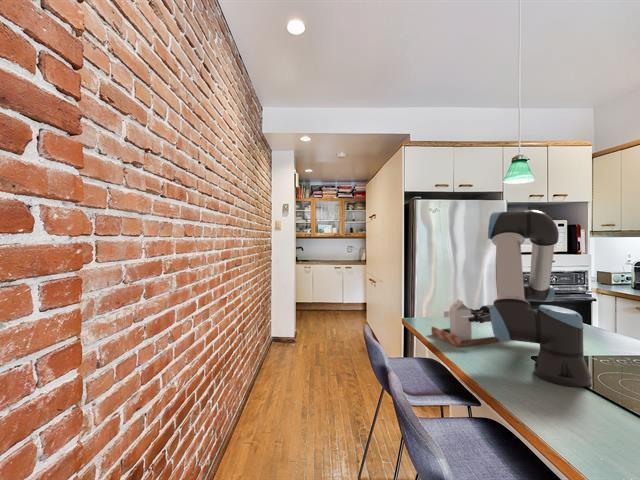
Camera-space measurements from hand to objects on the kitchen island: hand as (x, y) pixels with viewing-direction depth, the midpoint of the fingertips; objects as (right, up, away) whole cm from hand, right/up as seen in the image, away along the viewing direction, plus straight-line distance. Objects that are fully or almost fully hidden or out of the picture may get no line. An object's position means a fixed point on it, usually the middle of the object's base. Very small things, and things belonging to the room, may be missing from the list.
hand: (452, 316), depth 140 cm
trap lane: (+8, -11, +5) cm, 15 cm away
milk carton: (+4, -12, +1) cm, 12 cm away
